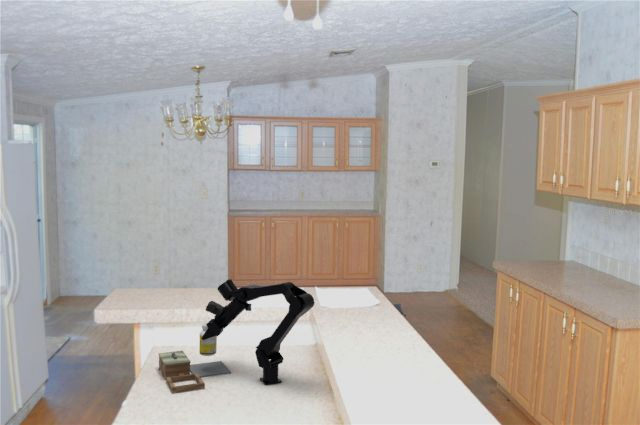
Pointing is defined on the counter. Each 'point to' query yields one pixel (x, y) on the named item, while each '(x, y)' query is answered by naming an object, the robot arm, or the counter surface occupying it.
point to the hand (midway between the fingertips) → (204, 336)
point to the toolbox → (178, 372)
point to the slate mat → (209, 369)
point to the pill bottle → (207, 343)
